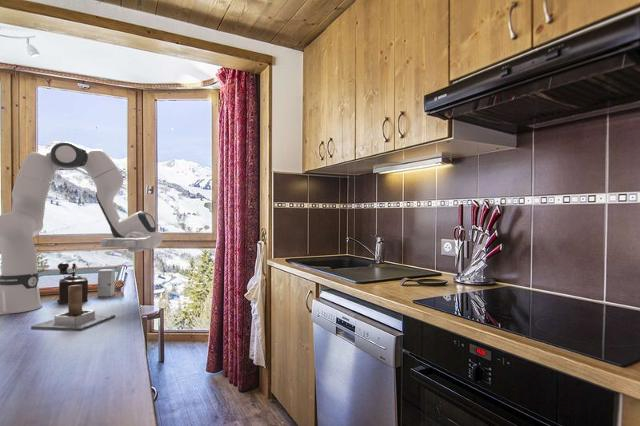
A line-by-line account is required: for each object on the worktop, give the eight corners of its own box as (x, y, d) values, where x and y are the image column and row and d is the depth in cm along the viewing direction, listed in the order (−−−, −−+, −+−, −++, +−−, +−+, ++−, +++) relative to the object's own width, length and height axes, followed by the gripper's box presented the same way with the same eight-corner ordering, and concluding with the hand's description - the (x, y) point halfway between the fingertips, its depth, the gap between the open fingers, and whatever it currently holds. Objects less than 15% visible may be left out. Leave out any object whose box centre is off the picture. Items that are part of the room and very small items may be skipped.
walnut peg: (65, 321, 124) (65, 286, 125) (74, 318, 128) (74, 284, 129) (75, 322, 124) (75, 287, 124) (85, 318, 128) (84, 284, 128)
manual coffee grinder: (56, 300, 160) (57, 259, 161) (86, 297, 167) (86, 258, 167) (57, 307, 148) (57, 263, 148) (89, 303, 154) (89, 261, 155)
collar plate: (31, 328, 119) (31, 318, 119) (70, 315, 135) (70, 306, 135) (80, 330, 117) (80, 320, 117) (115, 317, 133) (115, 308, 133)
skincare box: (96, 296, 168) (97, 270, 168) (101, 294, 172) (101, 269, 172) (111, 296, 169) (111, 270, 169) (115, 294, 173) (115, 268, 173)
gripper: (113, 234, 161) (90, 235, 147) (157, 234, 158) (137, 236, 144) (113, 248, 160) (90, 251, 147) (157, 248, 158) (137, 251, 144)
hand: (113, 243), depth 145 cm, fingers open, 8 cm apart
